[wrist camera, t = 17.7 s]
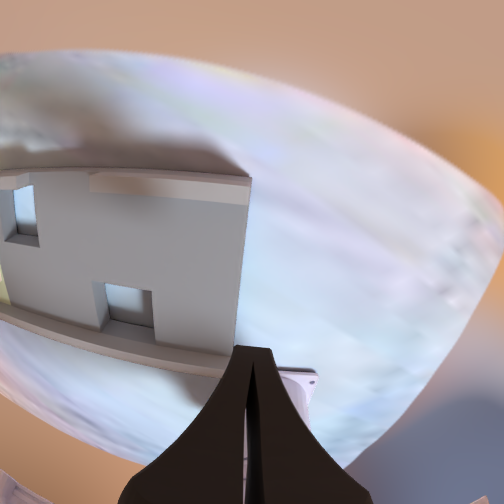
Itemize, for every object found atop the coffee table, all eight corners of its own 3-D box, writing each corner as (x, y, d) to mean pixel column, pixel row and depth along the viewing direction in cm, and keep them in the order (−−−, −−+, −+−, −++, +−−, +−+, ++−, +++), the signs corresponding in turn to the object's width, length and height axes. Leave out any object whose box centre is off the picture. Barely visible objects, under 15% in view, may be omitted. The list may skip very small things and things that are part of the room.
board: (232, 349, 24) (227, 389, 19) (-4, 293, 23) (-27, 313, 19) (252, 177, 18) (249, 190, 14) (-25, 172, 18) (-56, 182, 14)
